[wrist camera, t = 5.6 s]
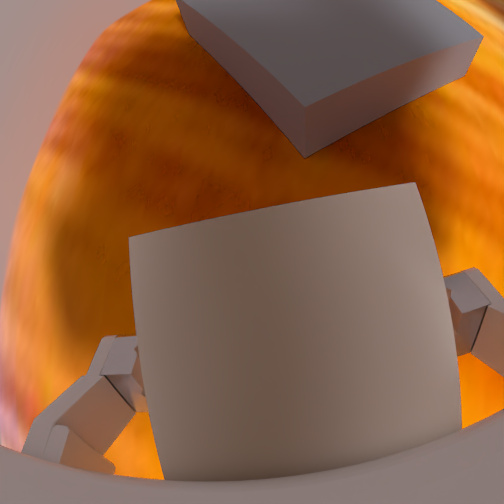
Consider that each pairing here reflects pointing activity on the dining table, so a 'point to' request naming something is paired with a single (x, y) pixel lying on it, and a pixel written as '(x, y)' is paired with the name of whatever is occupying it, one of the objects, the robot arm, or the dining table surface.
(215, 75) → the dining table surface
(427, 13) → the grey plinth
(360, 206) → the grey upright block
